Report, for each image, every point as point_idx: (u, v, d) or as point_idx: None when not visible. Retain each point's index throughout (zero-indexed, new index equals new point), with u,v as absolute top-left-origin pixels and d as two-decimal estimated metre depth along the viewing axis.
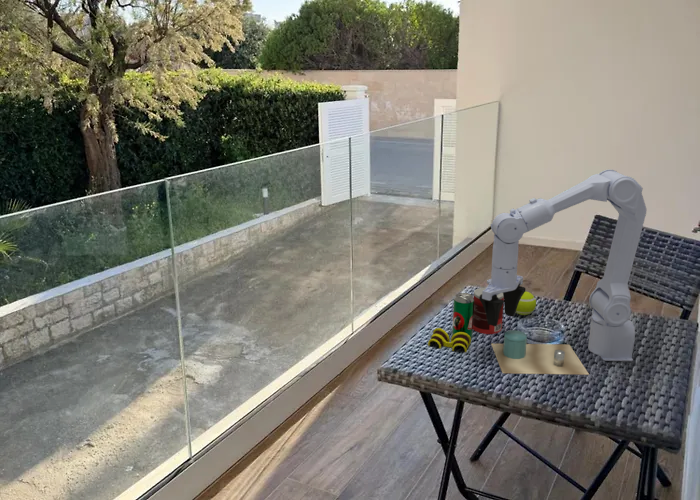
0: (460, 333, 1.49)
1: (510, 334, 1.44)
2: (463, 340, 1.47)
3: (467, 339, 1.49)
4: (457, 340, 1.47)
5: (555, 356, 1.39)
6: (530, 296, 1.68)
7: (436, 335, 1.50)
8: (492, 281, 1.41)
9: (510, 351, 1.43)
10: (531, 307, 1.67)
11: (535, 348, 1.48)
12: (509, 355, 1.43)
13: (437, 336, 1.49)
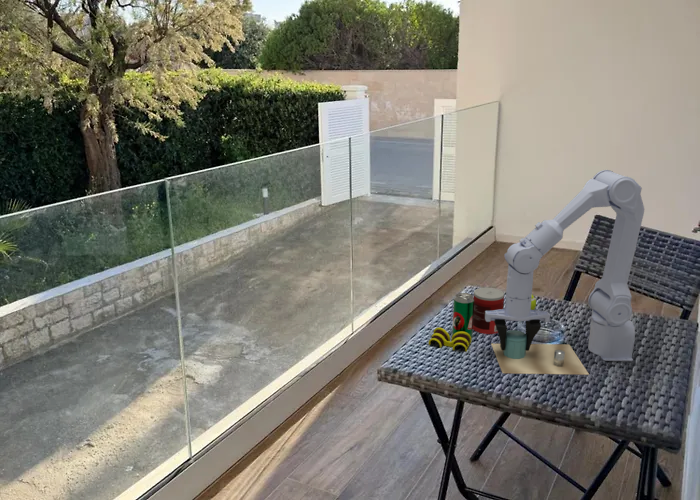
0: (460, 332, 1.49)
1: (510, 334, 1.44)
2: (463, 339, 1.48)
3: (467, 338, 1.49)
4: (457, 339, 1.48)
5: (555, 356, 1.39)
6: None
7: (437, 334, 1.50)
8: None
9: (510, 351, 1.43)
10: (531, 307, 1.67)
11: (535, 348, 1.48)
12: (509, 355, 1.43)
13: (438, 335, 1.50)
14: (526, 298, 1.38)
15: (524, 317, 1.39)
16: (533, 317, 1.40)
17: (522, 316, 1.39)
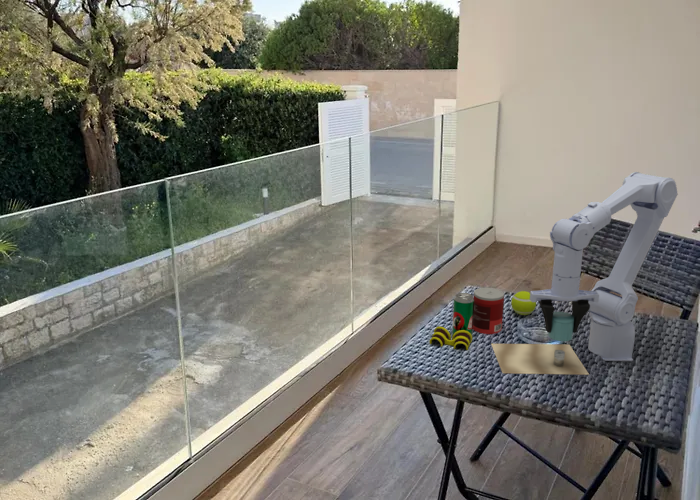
0: (461, 331, 1.50)
1: (556, 315, 1.37)
2: (464, 338, 1.48)
3: (468, 337, 1.50)
4: (458, 338, 1.48)
5: (555, 356, 1.39)
6: None
7: (437, 333, 1.51)
8: None
9: (557, 333, 1.36)
10: (531, 307, 1.67)
11: (535, 348, 1.48)
12: (556, 337, 1.36)
13: (438, 334, 1.50)
14: (575, 277, 1.31)
15: (573, 297, 1.32)
16: (582, 297, 1.33)
17: (571, 296, 1.32)
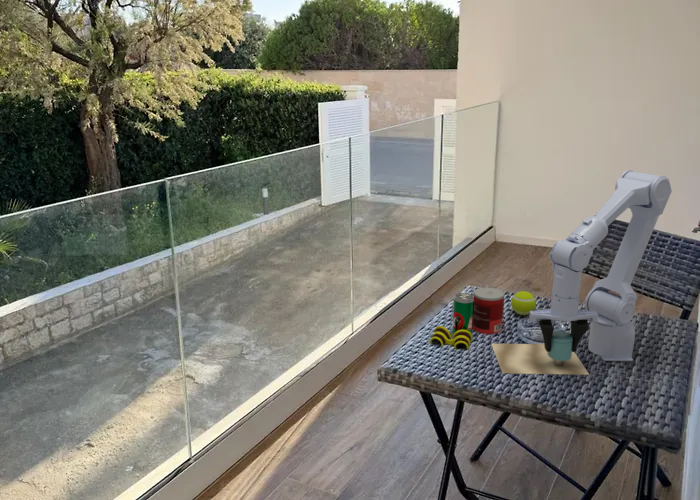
0: (462, 331, 1.50)
1: (556, 335, 1.38)
2: (465, 337, 1.49)
3: (469, 336, 1.50)
4: (459, 337, 1.49)
5: None
6: (530, 296, 1.68)
7: (438, 333, 1.51)
8: None
9: (556, 353, 1.37)
10: (531, 307, 1.67)
11: (535, 348, 1.48)
12: (555, 357, 1.37)
13: (439, 334, 1.51)
14: (574, 297, 1.32)
15: (572, 317, 1.34)
16: (581, 317, 1.34)
17: (570, 316, 1.33)
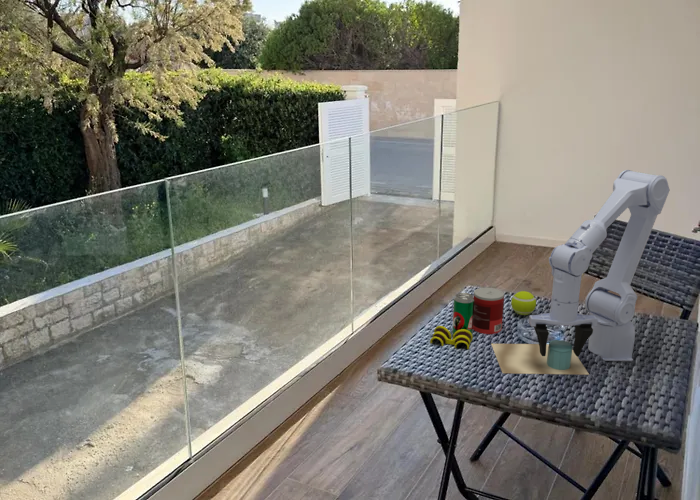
0: (462, 330, 1.50)
1: (555, 344, 1.39)
2: (465, 337, 1.49)
3: (469, 336, 1.50)
4: (459, 337, 1.49)
5: None
6: (530, 296, 1.68)
7: (438, 333, 1.51)
8: None
9: (555, 362, 1.38)
10: (531, 307, 1.67)
11: (535, 348, 1.48)
12: (554, 366, 1.38)
13: (439, 334, 1.51)
14: (574, 302, 1.33)
15: (571, 321, 1.34)
16: (580, 321, 1.35)
17: (569, 320, 1.34)
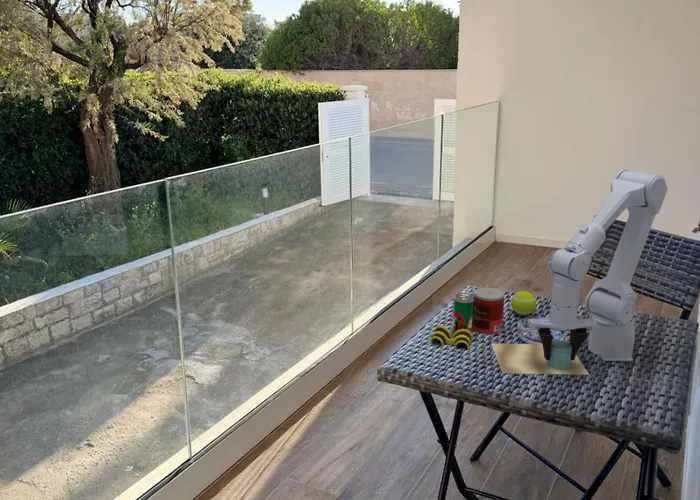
0: (462, 330, 1.50)
1: (555, 344, 1.39)
2: (465, 337, 1.49)
3: (469, 336, 1.50)
4: (459, 337, 1.49)
5: None
6: (530, 296, 1.68)
7: (438, 332, 1.51)
8: None
9: (555, 362, 1.38)
10: (531, 307, 1.67)
11: (535, 348, 1.48)
12: (554, 366, 1.38)
13: (439, 333, 1.51)
14: (573, 306, 1.33)
15: (571, 326, 1.34)
16: (580, 325, 1.35)
17: (569, 325, 1.34)
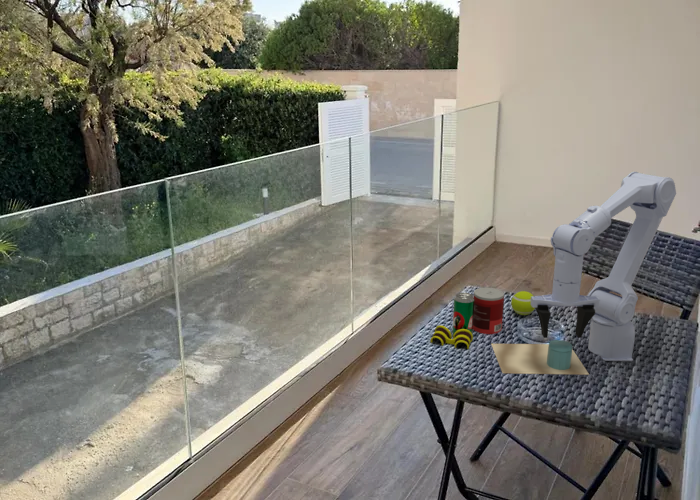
0: (462, 330, 1.50)
1: (555, 344, 1.39)
2: (465, 337, 1.49)
3: (469, 336, 1.50)
4: (459, 337, 1.49)
5: None
6: (530, 296, 1.68)
7: (438, 332, 1.51)
8: None
9: (555, 362, 1.38)
10: (531, 307, 1.67)
11: (535, 348, 1.48)
12: (554, 366, 1.38)
13: (439, 333, 1.51)
14: (576, 282, 1.31)
15: (573, 302, 1.33)
16: (583, 302, 1.33)
17: (571, 301, 1.32)
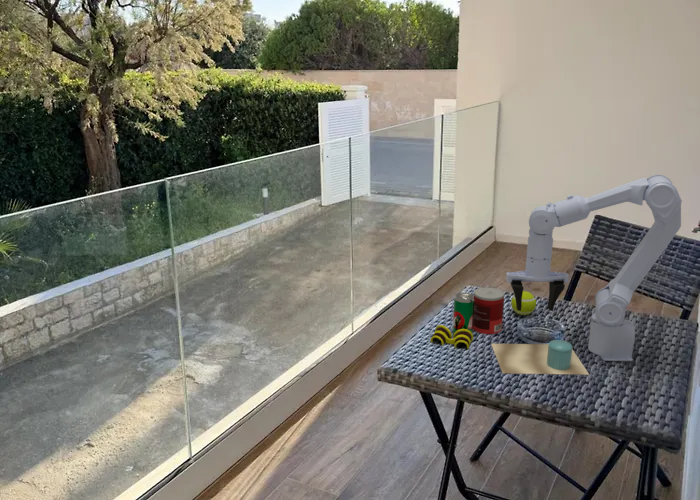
0: (462, 330, 1.50)
1: (555, 344, 1.39)
2: (465, 337, 1.49)
3: (469, 336, 1.50)
4: (459, 337, 1.49)
5: None
6: (530, 296, 1.68)
7: (438, 332, 1.51)
8: None
9: (555, 362, 1.38)
10: (531, 307, 1.67)
11: (535, 348, 1.48)
12: (554, 366, 1.38)
13: (439, 333, 1.51)
14: (546, 259, 1.44)
15: (544, 277, 1.45)
16: (553, 277, 1.45)
17: (542, 276, 1.45)
